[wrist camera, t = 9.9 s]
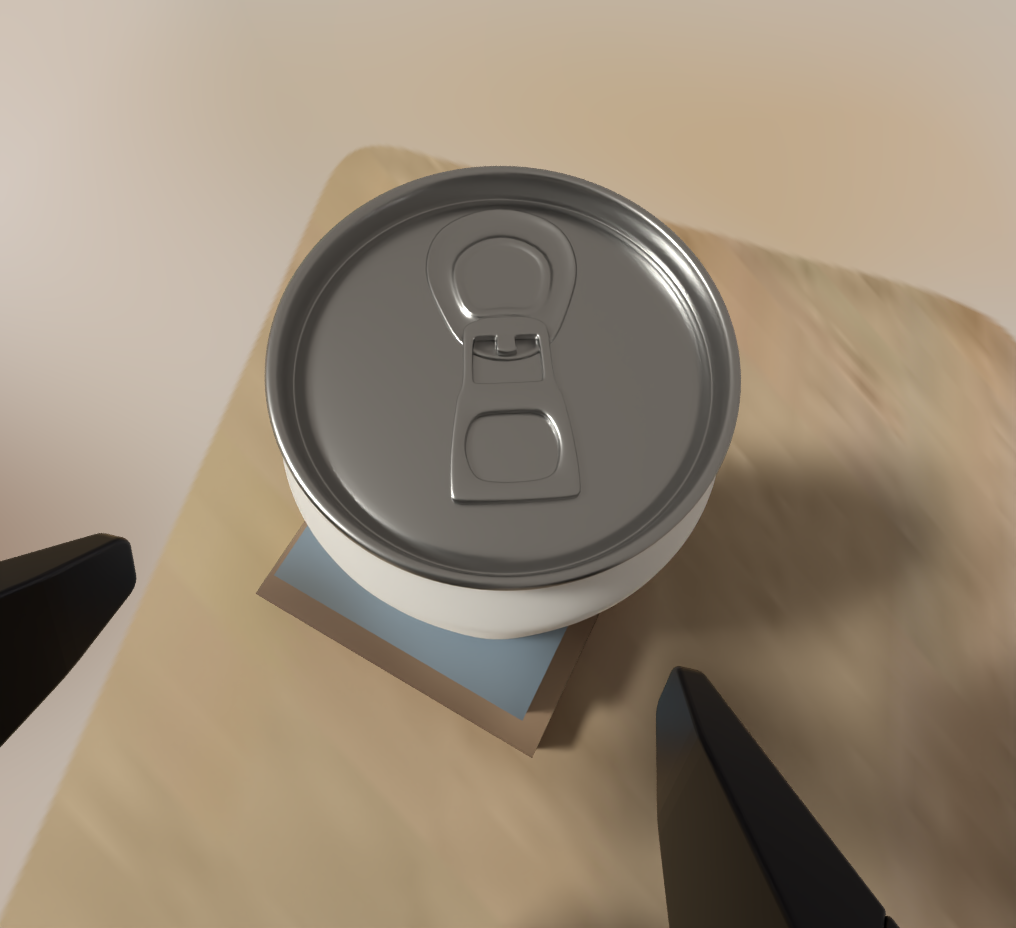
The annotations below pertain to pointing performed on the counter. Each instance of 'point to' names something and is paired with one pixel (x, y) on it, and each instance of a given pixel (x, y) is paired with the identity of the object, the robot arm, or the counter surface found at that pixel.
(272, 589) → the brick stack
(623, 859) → the counter surface
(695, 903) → the robot arm
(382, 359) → the can
